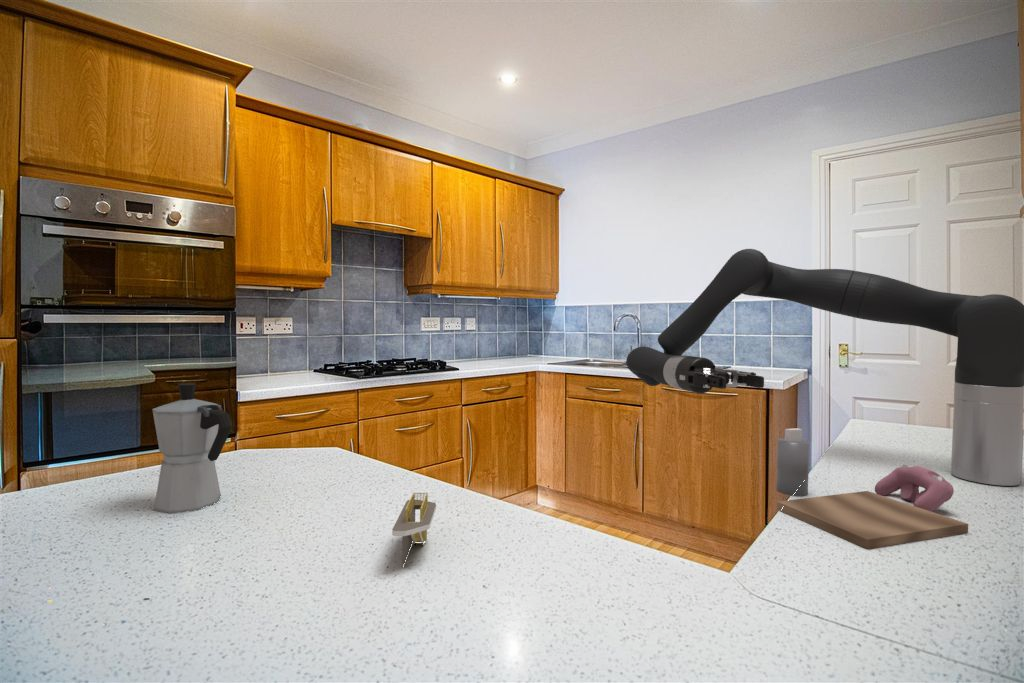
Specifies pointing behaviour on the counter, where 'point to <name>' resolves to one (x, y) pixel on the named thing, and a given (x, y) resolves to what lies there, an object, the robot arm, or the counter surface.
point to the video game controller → (917, 486)
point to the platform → (407, 523)
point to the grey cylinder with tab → (792, 463)
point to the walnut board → (871, 519)
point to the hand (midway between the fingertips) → (744, 382)
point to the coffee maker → (189, 451)
